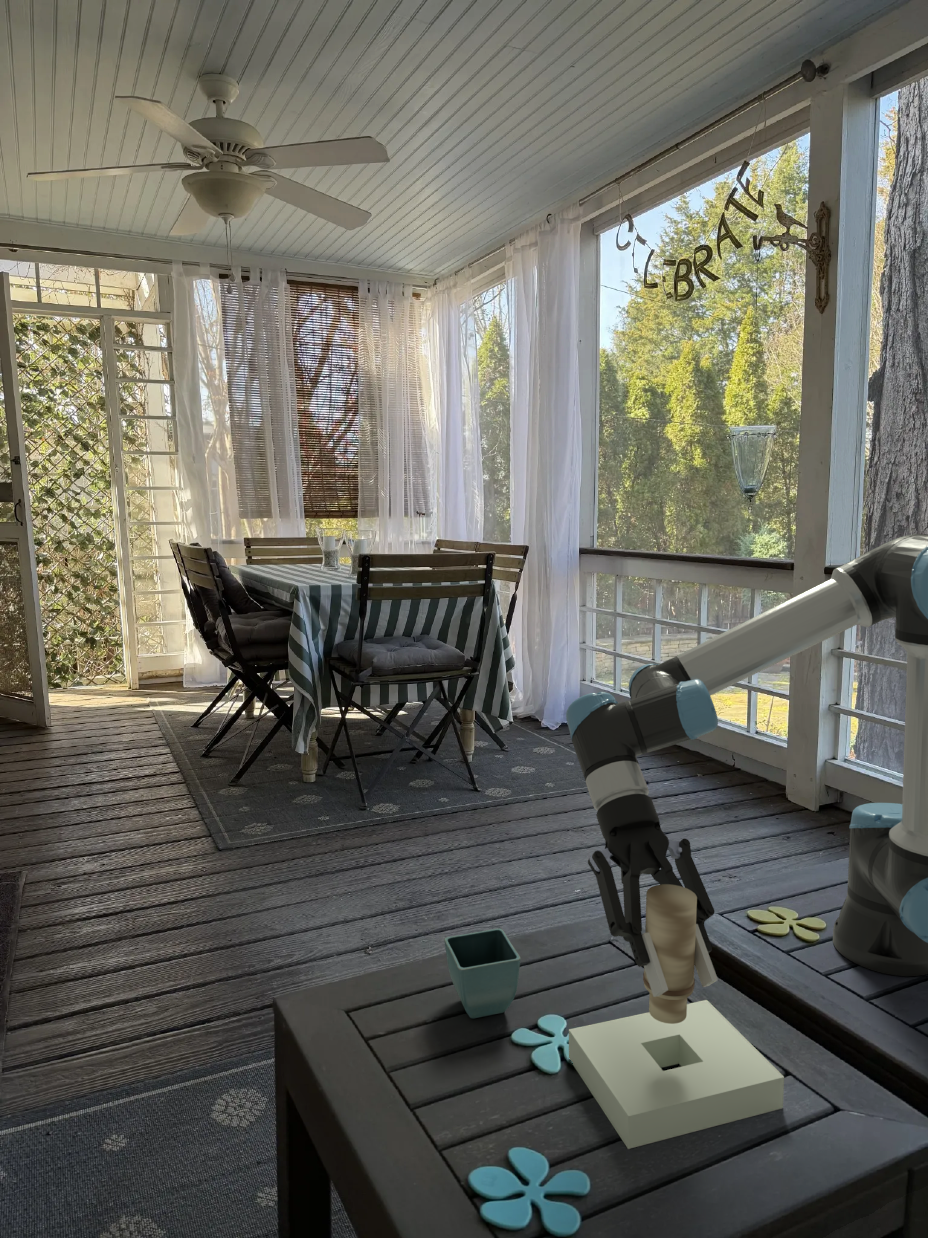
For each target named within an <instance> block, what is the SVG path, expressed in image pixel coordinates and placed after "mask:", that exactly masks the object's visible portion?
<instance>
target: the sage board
mask: <svg viewBox="0 0 928 1238" xmlns="http://www.w3.org/2000/svg"><path fill="white" fill-rule="evenodd" d="M741 1033H742V1032H741ZM741 1033H740V1031H739V1030H738V1029H737V1028H736V1027H734V1025H733V1024H731V1022H730V1021H729V1020H728V1019H727V1018H725V1016H724V1015H722V1013H721V1012H720V1011H719V1010H718V1009H717V1008H715V1007H714V1005H712V1003H711V1002H710V1001H708V1000H707V999H704V1000H699V1001H695V1002H691V1003H687V1015H686V1018H685V1020H684V1021H682V1022H680V1023H676V1024H668V1023H663V1022H660V1021H658V1020H656V1019H654V1018H653V1017H652V1016H651V1015H650V1013H649V1011H648V1012H643V1013H639V1014H634V1015H630V1016H626V1017H620V1018H616V1019H611V1020H608V1021H602V1022H601V1021H600V1022H598V1023H592V1024H589V1025H587V1024H586V1025H583V1026H578V1027H574V1028H569V1029H568V1059H569V1058H570V1059H569V1061H570V1060H571V1061H572V1062H573V1064H572V1065H573V1067H574V1069H575V1070H576V1072H577V1074H578V1075H579V1076H580V1078H581V1079H582V1081H583V1082H584V1084H585V1086H586V1087H587V1088H588V1090H589V1092H590V1093H591V1095H592V1096H593V1098H594V1099H595V1101H596V1102H597V1104H598V1105H599V1107H600V1108H601V1110H602V1111H603V1113H604V1114H605V1116H606V1117H607V1119H608V1120H609V1122H610V1123H611V1126H612V1127H613V1128H614V1129H615V1131H616V1133H617V1134H618V1136H619V1137H620V1139H621V1140H622V1142H623V1143H624V1145H625V1146H626V1149H627V1150H630V1149H633V1148H636V1147H637V1148H638V1147H641V1146H645V1145H649V1144H652V1143H656V1142H660V1141H664V1140H669V1139H671V1138H676V1137H679V1136H683V1135H686V1134H690V1133H694V1132H698V1131H702V1130H706V1129H709V1128H713V1127H716V1126H721V1125H724V1124H728V1123H733V1122H736V1121H740V1120H744V1119H747V1118H751V1117H754V1116H758V1115H759V1116H760V1115H762V1114H766V1113H771V1112H774V1111H778V1110H782V1109H784V1089H785V1087H784V1086H785V1085H784V1084H785V1076H784V1075H783V1074H782V1073H781V1072H780V1071H779V1070H778V1069H777V1068H776V1067H775V1066H774V1065H773V1064H772V1063H771V1062H770V1061H769V1060H768V1059H767V1058H766V1057H764V1055H763V1054H762V1053H761V1052H760V1051H759V1050H758V1049H756V1047H754V1045H752V1043H751V1042H750V1041H749V1040H748V1039H746V1037H744V1035H743V1034H741ZM571 1061H570V1062H571ZM572 1062H571V1063H572ZM678 1064H679V1066H678V1067H674V1068H672V1069H671V1068H670V1069H667V1070H663V1069H662V1068H667V1067H670V1066H674V1065H678Z"/></svg>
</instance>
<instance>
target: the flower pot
mask: <svg viewBox="0 0 928 1238" xmlns="http://www.w3.org/2000/svg"><path fill="white" fill-rule="evenodd" d="M444 947H445V954H446V961H447V966H448V967H447V968H448V971H449V972H448V973H449V975H450V979H451V981H452V984H453V986H454V989H455V991H456V992H457V995H458V997H459V999H460V1002H461V1004H462V1006H463V1009H464V1010H465V1012H466V1014H467V1015H468V1017H469V1018H470V1019H478V1018H482V1017H483V1018H484V1017H488V1016H493V1015H497V1014H503V1013H505V1012H506V1011H507V1010H508V1009H509V1007H510V1006H511V1005H512V1002H513V1001H514V999H515V997H516V994H517V991H518V986H519V976H520V967H521V956H520V954H519V953H518V951H517V950H516V948H515V947H514V946H513V944H512V942H511V941H510V939H509V937H508V936H507V934H506V932H505V931H504V930H503V929H502V928H492V929H487V930H482V931H477V932H475V931H474V932H470V933H464V934H459V935H458V934H457V935H451V936H447V937H444Z"/></svg>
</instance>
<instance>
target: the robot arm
mask: <svg viewBox="0 0 928 1238" xmlns="http://www.w3.org/2000/svg"><path fill="white" fill-rule="evenodd" d="M893 618H895V625H894V626H895V627H894V631H895V633H894V634H895V635H894V637H895V638H894V639H895V641H896V643H898V644H899V645H900V647H902V649H904V650H905V652H906V656H907V659H906V682H905V683H906V688H905V712H904V713H905V714H904V715H905V718H904V719H905V720H904V744H903V746H904V747H903V777H902V778H903V779H902V780H903V781H902V803H897V802H895V803H894V802H870V803H864V804H860V805H858V806H856V807H855V808H854V809H853V810H852V813H851V818H850V819H851V820H850V824H849V827H848V828H849V843H848V844H849V847H848V848H849V850H848V851H849V852H848V868H847V869H848V873H847V892H846V893H847V894H846V898H845V899H844V902H843V904H842V907H841V909H840V911H839V915H838V917H837V919H836V920H835V921H834V924H833V929H832V943H833V945H834V948H835V949H836V950H837V951H838V953H840V954H841V956H843V957H845V959H847V960H849V961H851V963H852V962H853V963H854V964H856V965H858V966H861V967H862V968H865V969H868V970H871V971H873V972H874V971H875V972H877V973H881V974H886V975H892V976H898V977H899V976H900V977H917V976H923V975H927V974H928V534H926V533H924V534H922V533H921V534H920V533H914V534H907V535H904V536H901V537H898V538H895V539H892V540H890V541H887V542H886V543H884V544H880V545H879V546H877V547H875V548H873V549H871V550H868V552H865V553H864V554H861V555H859V556H858V557H856V558H854V559H853V560H850V561H848V562H846V563H845V564H842V565H840V566H838V567H836V568H834V569H833V571H832V574H831V577H830V578H829V579H828V580H826V581H823V582H822V583H820V584H817V585H816V586H814V587H812V588H810V589H807V590H806V591H804V592H802V593H800V594H797V595H796V596H794V597H792V598H790V599H788V600H786V601H784V602H782V603H780V604H778V605H775V606H773V607H772V608H770V609H768V610H766V611H764V612H762V613H760V614H758V615H756V616H754V617H751V618H750V619H748V620H746V621H744V622H742V623H740V624H738V625H736V626H734V627H732V628H730V629H728V630H726V631H724V632H722V633H720V634H718V635H716V636H714V637H712V638H710V639H708V640H706V641H704V642H701V643H700V644H698V645H696V646H694V647H692V648H690V649H688V650H686V651H684V652H682V653H680V654H679V655H676V656H674V657H672V658H669V659H668V660H665V661H663V662H662V663H661V662H660V663H647V664H642V665H641V666H640V667H638V668H637V669H636V670H634V671H633V673H632V675H631V677H630V678H629V680H628V681H629V682H628V693H629V694H628V695H629V698H630V699H629V700H626V701H622V702H619V701H617V700H616V698H615V696H614V695H612V694H611V693H609V692H605V691H599V692H597V693H595V692H589V693H587V694H584V695H581V696H580V697H578V698H576V699H575V700H574V701H572V702H571V703H570V705H569V706H568V707H567V710H566V713H565V714H566V715H565V717H566V718H565V719H566V724H567V726H568V730H569V734H570V739H571V742H572V745H573V748H574V751H575V754H576V757H577V760H578V762H579V765H580V769H581V772H582V775H583V777H584V780H585V781H584V782H585V784H586V789H587V790H588V793H589V797H590V801H591V803H592V806H593V808H594V810H596V811H597V812H596V814H595V815H596V816H595V817H596V819H597V822H598V826H599V829H600V831H601V834H602V838H603V839H604V841H605V843H604V844H605V846H604V849H601V850H595V851H594V852H593V853H592V854H591V856H590V857H589V858H588V860H587V864H588V866H589V868H590V869H591V871H592V872H593V874H594V876H595V877H596V881H597V886H598V890H599V894H600V899H601V901H602V906H603V910H604V913H605V917H606V923H607V925H608V929H609V933H610V936H611V935H612V936H613V937H615V938H617V937H621V938H623V940H624V941H625V942H629V945H630V949H631V952H632V955H633V958H634V960H635V963H636V965H637V966H638V968H640V967H643V970H644V969H645V972H646V975H647V978H648V981H649V984H650V987H651V990H652V994H653V997H657V996H660V995H662V994H663V993H664V992H666V991H667V990H668V987H667V984H666V981H665V978H664V975H663V972H662V969H661V966H660V963H659V960H658V957H657V954H656V951H655V948H654V945H653V942H652V939H651V936H650V933H649V932H647V933H645V932H643V933H642V931H643V923H642V922H643V921H642V908H641V907H642V906H641V887H640V885H641V884H640V877H641V875H651V877H652V878H653V880H654V881H655V882H657V883H658V885H662V884H670V885H677V886H681V887H684V888H687V889H689V890H691V891H692V892H694V893H695V895H696V896H697V911H696V938H695V964H694V968H695V970H696V972H697V976H698V979H699V981H700V983H701V988H706V987H709V986H711V985H712V984H714V983H715V982H717V981H719V979H718V976H717V974H716V970H715V967H714V965H713V962H712V960H711V957H710V955H709V954H710V953H711V952H712V951H713V947H712V944H711V940H710V938H709V935H708V933H707V929H706V927H705V922H706V921H707V920H709V919H710V918H711V917H713V915H714V914H715V908H714V906H713V903H712V901H711V899H710V897H709V894H708V892H707V889H706V887H705V885H704V882H703V881H702V878H701V876H700V873H699V870H698V869H697V866H696V864H695V861H694V859H693V856H692V851H691V842H690V840H689V839H687V838H682V839H681V840H680V841H679V840H673V839H669V837H668V835H666V834H665V833H664V832H663V830H662V828H661V823H660V818H659V815H658V813H657V810H656V807H655V804H654V802H653V799H652V797H650V796H649V793H650V791H649V787H648V785H647V781H646V780H645V776H644V774H643V771H642V769H641V767H640V763H639V760H638V759H637V756H641V755H645V754H648V753H652V752H654V751H658V750H661V749H664V748H668V747H671V746H674V745H677V744H680V743H683V742H687V741H689V740H690V741H691V740H696V739H698V738H699V737H700V738H701V736H705V735H706V734H709V733H712V732H713V731H715V730H716V729H717V727H718V726H719V725H718V724H719V718H718V713H717V711H716V707H715V705H714V702H713V700H712V696H713V695H715V694H717V693H719V692H722V691H723V690H725V689H727V688H729V687H731V686H732V685H733V686H734V685H735V684H737V683H740V682H742V681H743V680H744V681H745V679H748V678H750V677H751V676H754V675H756V674H758V673H760V672H762V671H763V670H766V669H768V668H770V667H773V666H774V665H777V664H779V663H780V662H782V661H785V660H787V659H788V658H792V657H793V656H795V655H797V654H799V653H801V652H803V651H806V650H807V649H808V650H809V649H810V648H811V647H813V646H815V645H818V644H820V643H822V642H824V641H826V640H828V639H830V638H832V637H834V636H837V635H838V634H840V633H843V632H844V631H847V630H849V629H851V628H853V627H855V626H861V627H864V628H869V627H872V626H873V625H875V624H878V623H879V622H881V621H884V620H888V619H893ZM667 852H669V854H670V858H671V859H673V860H674V863H675V867H676V870H677V872H678V874H679V877H680V879H681V880H679V878H678V876H677V874H675V872H674V870H673V869H674V868H673V865H672V863H671V862H670V860H669V859H668V857H667V856H666V855H667ZM611 861H612V862H613V863H614V864H615V865H616V866H618V867H619V868H620V875H621V876H620V877H621V881H620V882H621V884H622V891H623V893H622V894H623V908H622V904H621V900H620V896H619V892H618V888H617V884H616V881H615V877H614V873H613V870H612V867H611V864H612V863H611ZM681 881H682V882H681Z"/></svg>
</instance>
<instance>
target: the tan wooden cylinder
mask: <svg viewBox="0 0 928 1238" xmlns="http://www.w3.org/2000/svg"><path fill="white" fill-rule="evenodd" d="M645 896H646V897H645V932H644V933H647V932H649V933H650V936H651V939H652V942H653V945H654V948H655V951H656V954H657V957H658V960H659V963H660V966H661V969H662V972H663V975H664V978H665V981H666V984H667V987H668V990H667V991H666V992H664V993H663V994H662V995H660V996H657V997H653V994H652V990H651V987H650V984H649V981H648V978H647V975H646V972H645V969H644V968H643V973H642V975H643V978H642V980H643V985H644V988H645V989H646V990H647V992H649V997H648V998H649V999H648V1001H649V1004H648V1012H649V1013H650V1015H651V1016H652V1017H653V1018H654V1019H656V1020H658V1021H660V1022H663V1023H668V1024H676V1023H680V1022H682V1021H684V1020H685V1018H686V1015H687V1004H688V998H689V997H690V996H692V995H693V993H694V990H695V983H696V982H695V980H696V979H695V965H694V964H695V938H696V911H697V896H696V895H695V893H694V892H692V891H691V890H689V889H687V888H685V887H684V886H683V887H681V886H677V885H670V884H662V885H660V884H657V885H653V886H651V887H649V888H648V889H647V890H646V894H645Z"/></svg>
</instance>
